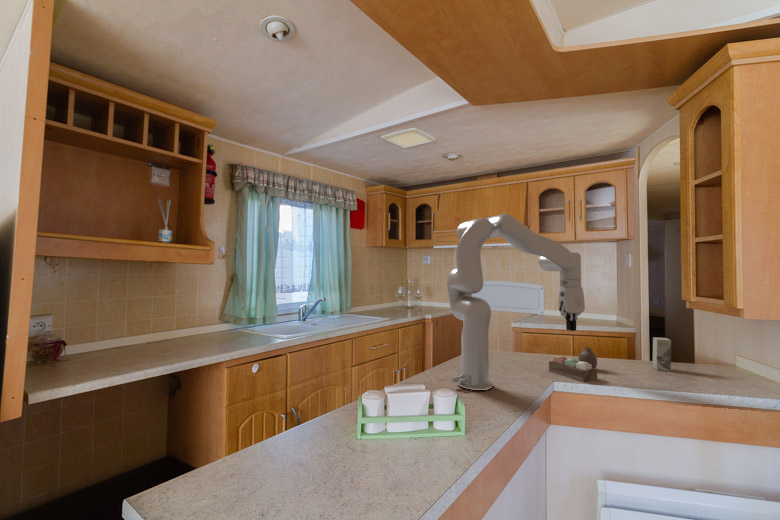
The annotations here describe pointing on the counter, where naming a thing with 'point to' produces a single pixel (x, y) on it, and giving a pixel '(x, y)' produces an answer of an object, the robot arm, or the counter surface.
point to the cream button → (583, 365)
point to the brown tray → (573, 372)
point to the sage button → (571, 362)
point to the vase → (588, 357)
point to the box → (662, 354)
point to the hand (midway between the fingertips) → (571, 330)
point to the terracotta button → (560, 359)
